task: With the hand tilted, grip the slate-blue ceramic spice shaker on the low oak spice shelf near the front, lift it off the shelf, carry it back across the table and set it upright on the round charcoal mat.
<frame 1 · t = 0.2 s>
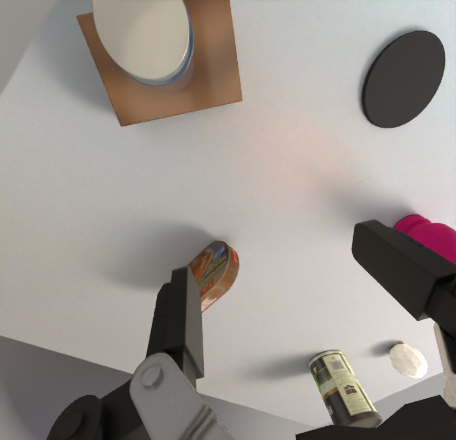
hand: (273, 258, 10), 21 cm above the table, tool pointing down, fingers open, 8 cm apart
geometric ball: (395, 346, 60), on the table
coffee can: (325, 359, 59), on the table
shelf: (174, 70, 23), on the table
pepper mill: (405, 229, 39), on the table
tin: (199, 263, 36), on the table
shaker: (168, 63, 18), point 5 cm above the table, touching shelf
mat: (400, 84, 26), on the table
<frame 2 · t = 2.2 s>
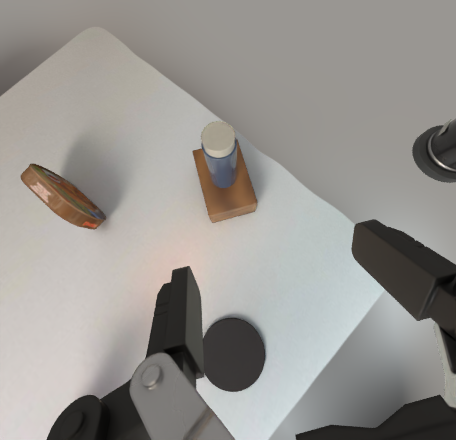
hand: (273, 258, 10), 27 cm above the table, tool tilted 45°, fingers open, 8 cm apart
shelf: (225, 187, 40), on the table
tin: (83, 205, 40), on the table
shaker: (223, 175, 35), point 5 cm above the table, touching shelf
mat: (232, 352, 33), on the table
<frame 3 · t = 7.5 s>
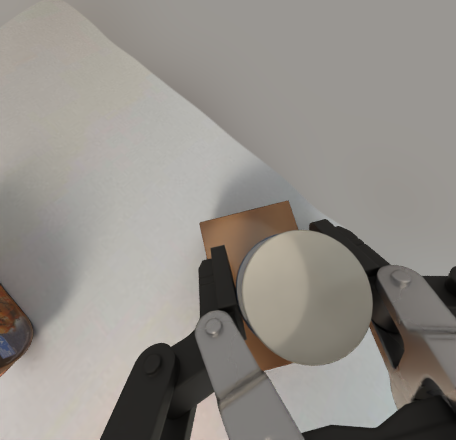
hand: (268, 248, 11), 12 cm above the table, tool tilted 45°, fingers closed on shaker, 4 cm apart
shelf: (257, 279, 22), on the table
shaker: (263, 281, 17), point 5 cm above the table, touching gripper, shelf
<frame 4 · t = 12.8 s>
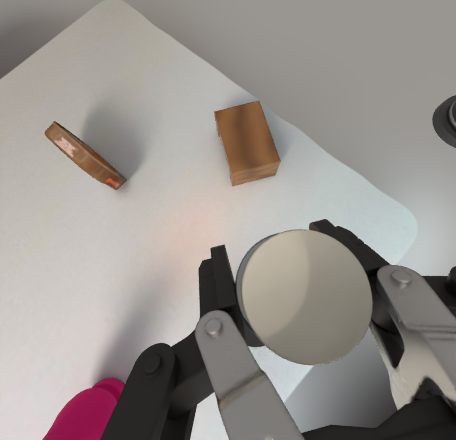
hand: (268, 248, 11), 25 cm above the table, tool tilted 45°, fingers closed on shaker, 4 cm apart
shelf: (245, 152, 39), on the table
pepper mill: (109, 401, 31), on the table
tin: (102, 169, 40), on the table
shaker: (263, 280, 17), point 18 cm above the table, touching gripper
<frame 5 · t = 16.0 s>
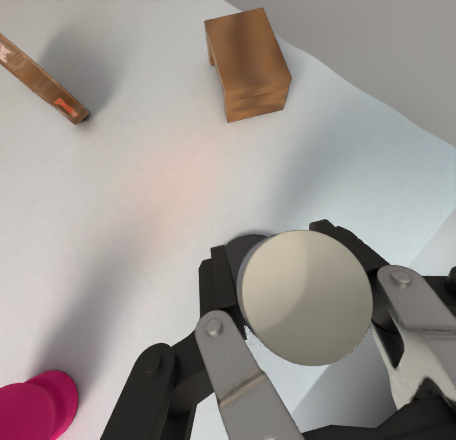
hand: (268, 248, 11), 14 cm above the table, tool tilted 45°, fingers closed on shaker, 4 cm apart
shelf: (244, 82, 31), on the table
pepper mill: (51, 402, 22), on the table
tin: (62, 104, 31), on the table
shaker: (263, 281, 17), point 8 cm above the table, touching gripper
mat: (254, 278, 24), on the table
when the fingers open (7 cm above the table, at t = 18.4 s): shaker stays where it is, resting on mat.
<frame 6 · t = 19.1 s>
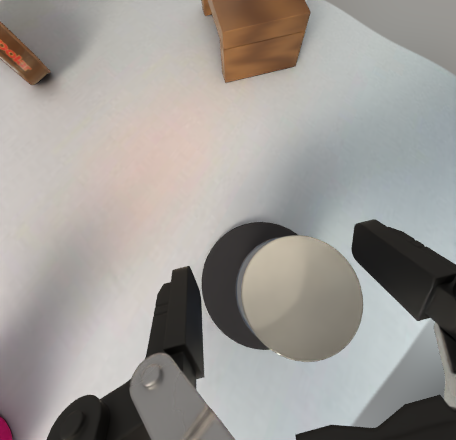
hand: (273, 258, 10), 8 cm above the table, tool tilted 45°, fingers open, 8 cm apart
shelf: (246, 35, 25), on the table
tin: (19, 63, 25), on the table
shaker: (263, 282, 17), point 1 cm above the table, touching mat
mat: (261, 281, 18), on the table
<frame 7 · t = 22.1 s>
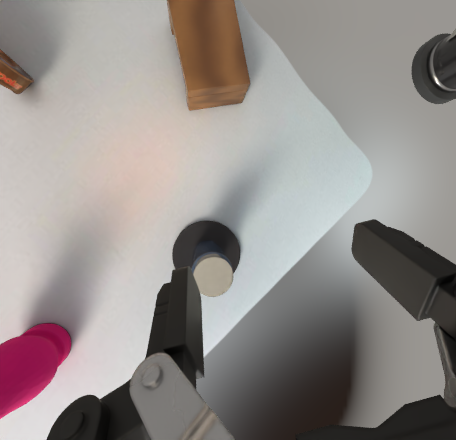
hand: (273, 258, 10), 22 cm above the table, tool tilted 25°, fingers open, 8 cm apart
shelf: (207, 64, 31), on the table
pepper mill: (48, 343, 29), on the table
shaker: (207, 254, 31), point 1 cm above the table, touching mat
mat: (206, 253, 32), on the table
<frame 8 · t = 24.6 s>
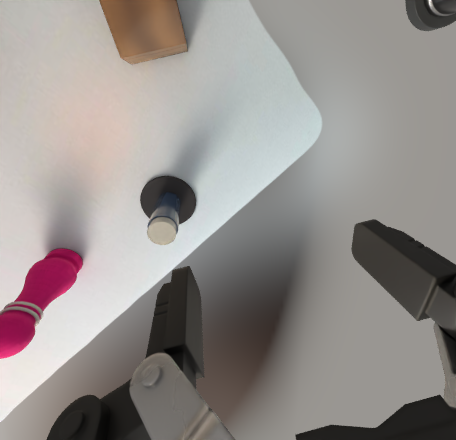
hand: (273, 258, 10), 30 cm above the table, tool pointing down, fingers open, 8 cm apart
pepper mill: (66, 259, 43), on the table
shaker: (168, 203, 39), point 1 cm above the table, touching mat
mat: (169, 201, 40), on the table
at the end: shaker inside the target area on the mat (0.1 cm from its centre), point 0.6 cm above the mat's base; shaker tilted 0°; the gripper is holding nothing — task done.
